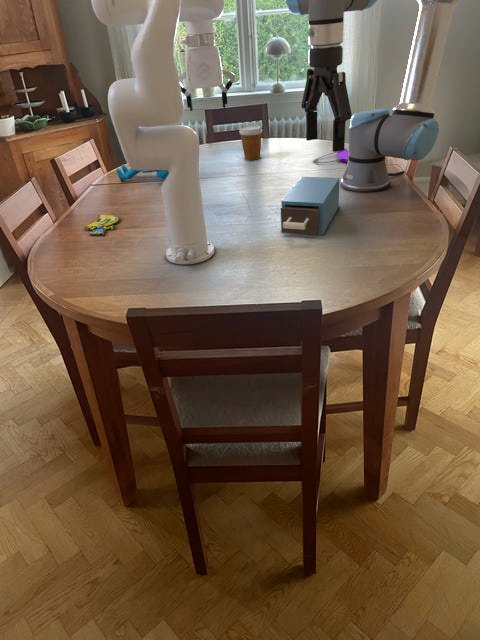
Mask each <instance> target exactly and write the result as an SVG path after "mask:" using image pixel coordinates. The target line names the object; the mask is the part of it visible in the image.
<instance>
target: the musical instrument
mask: <svg viewBox="0 0 480 640" xmlns="http://www.w3.org/2000/svg"><path fill="white" fill-rule="evenodd" d="M336 153H337V159H336V160H330V161H318V159H321V158H324V157H326V156H330V155H333V154H336ZM348 154H349V149H347V148H344V150H342V151H336V152H331V153H328V154H324V155H322V156H320V157H319V156H318V157H317V158H315V159H314V160H313V162H314V163H317V164H318V163H319V164H327V163H333V162H334V163H335V162H344V163H348Z"/></svg>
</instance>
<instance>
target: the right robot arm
mask: <svg viewBox="0 0 480 640" xmlns="http://www.w3.org/2000/svg"><path fill="white" fill-rule="evenodd" d="M377 1H378V0H285V5H286V8H287V10H288V11H289V12H290V13H291V14H292V15H297V16H304V15H305V16H306V15H308V31H307V36H308V45H309V46H310V47H311V48H309V49H308V66H309V67H310V68H307V69H306V81H305V85H304V90H303V91H304V92H303V94H302V95H303V96H302V100H301V105H300V107H301V109H304V113H305V121H306V122H305V129H306V130H305V131H306V133H305V135H306V137H305V138H306V140H305V141H307V142H309V141H314V140H318V105H319V102H320V101H321V97H322V95H323V94H324V96H326V97H327V100H328V103H329V105H330V108H331V111H332V114H333V117H334V119H333V120H332V153H334V152H336V153H337V151H342V150H344V149H345V145H346V144H345V143H346V123H347V121H348V120H349V127H348V132H349V133H348V151H349V154H348V162H347V164H346V167H345V169H344V172H343V174H342V178H341V187H342V188H343V189H345V190H348V191H350V192H359V193H370V192H371V193H372V192H378V191H382V190H384V189H386V188H388V187H389V186H390V177H397V176H401V175H404V174H405V170H402V171H397V172H393V173H392V172H388V168H387V164H386V157H387V158H395V159H399V160H400V159H402V160H405V161H421V160H423V159H424V158H426V157H427V156H428V155H429V154H430V152H431V151H432V150H433V148H434V146H435V144H436V142H437V140H438V137H439V132H440V128H439V127H440V126H439V125H440V124H439V121H438V120H437V119H435V118H434V117H435V113H436V112H435V110H434V109H433V106H432V102H433V98H434V95H435V90H436V86H437V81H438V77H439V73H440V68H441V64H442V60H443V56H444V51H445V47H446V43H447V39H448V34H449V30H450V25H451V21H452V16H453V12H454V9H455V8H456V7H457V5H459V4H460V3H461V2H462V0H416V2H417V4H418V5H419V11H418V15H417V21H416V25H415V29H414V35H413V39H412V45H411V49H410V53H409V59H408V64H407V68H406V73H405V78H404V82H403V87H402V91H401V97H400V101H399V103H398V104H397V105H396V106H394V107H393V109H392V114H391V115H390V113H391V112H390V109H389V108H373V109H367V110H362V111H358V112H355V113H354V114H352V113H353V112H352V109H351V104H350V98H349V93H348V88H347V84H346V83H347V82H346V81H347V80H346V78H347V77H346V75H347V74H346V72H345V71H340V72H339V71H338V67H339V66H341V65H342V64H343V60H344V59H343V56H344V47H343V46H342V45H341V44H342V43H344V26H345V25H344V23H345V22H344V21H345V20H344V19H345V18H344V16H345V13H346V12H355V11H357V12H359V11H361V12H362V11H364V10H366V9H370V8H372V7H373V6H374V5H375V4H376V2H377Z"/></svg>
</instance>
